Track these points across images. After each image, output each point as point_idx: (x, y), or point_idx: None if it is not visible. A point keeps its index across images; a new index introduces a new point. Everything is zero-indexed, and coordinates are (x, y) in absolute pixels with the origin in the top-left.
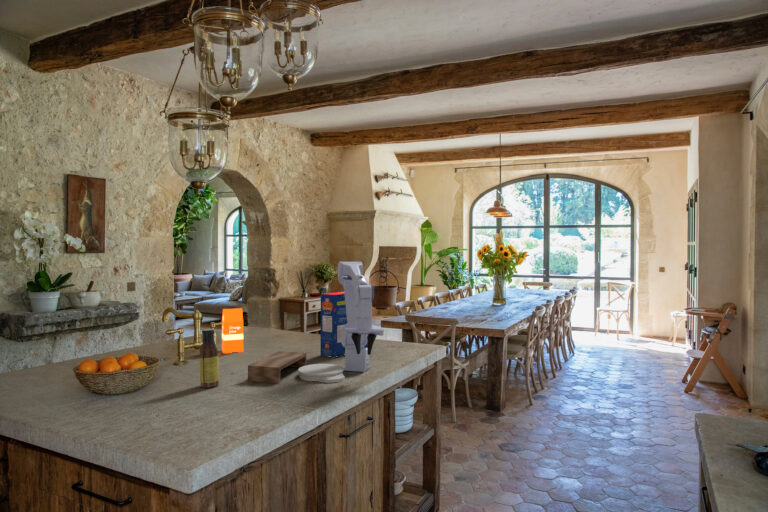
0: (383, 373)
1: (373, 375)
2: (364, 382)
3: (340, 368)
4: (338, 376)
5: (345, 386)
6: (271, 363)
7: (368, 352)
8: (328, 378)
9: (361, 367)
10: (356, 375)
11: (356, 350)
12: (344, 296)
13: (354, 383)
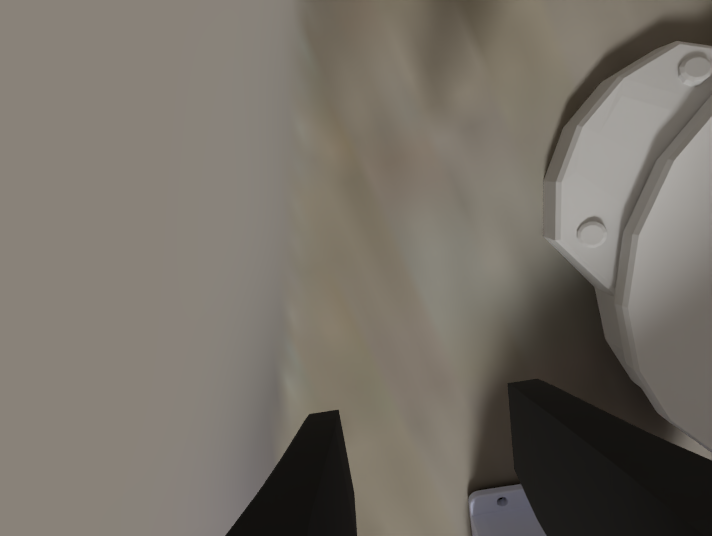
0: None
1: (362, 439)
2: (339, 213)
3: (669, 361)
4: (606, 176)
5: (445, 9)
6: None
7: (314, 428)
8: (679, 68)
9: (512, 528)
10: (494, 386)
11: (588, 406)
12: None
13: (408, 145)
